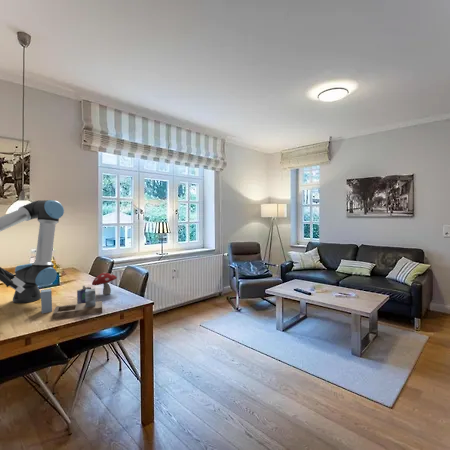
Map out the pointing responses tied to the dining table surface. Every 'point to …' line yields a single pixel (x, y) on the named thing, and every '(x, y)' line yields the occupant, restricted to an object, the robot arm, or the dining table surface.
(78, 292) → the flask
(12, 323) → the dining table surface
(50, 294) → the gray rectangular block
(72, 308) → the block insertion board
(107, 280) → the decorative mushroom
